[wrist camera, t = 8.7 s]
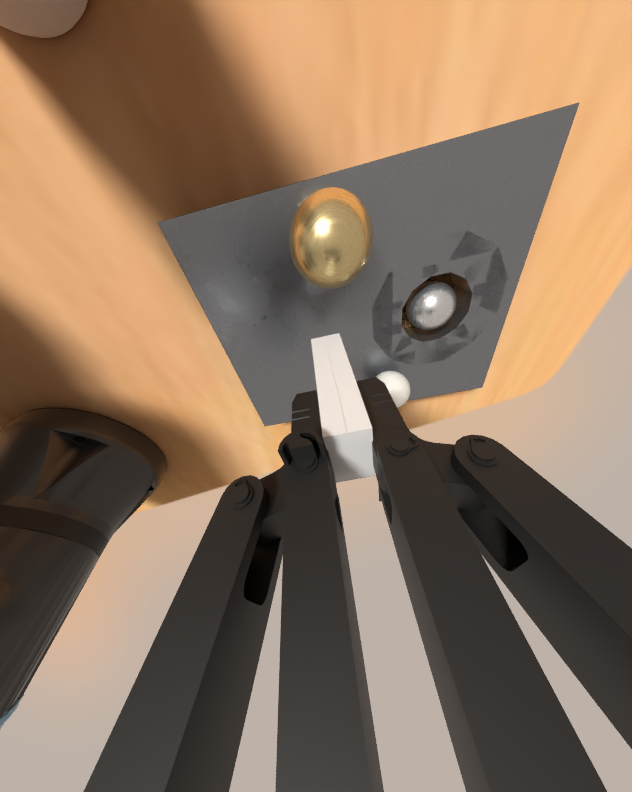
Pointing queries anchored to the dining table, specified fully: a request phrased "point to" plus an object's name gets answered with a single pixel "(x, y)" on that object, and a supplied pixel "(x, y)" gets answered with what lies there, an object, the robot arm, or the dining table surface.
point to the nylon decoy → (396, 386)
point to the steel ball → (431, 305)
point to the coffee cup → (41, 16)
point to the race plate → (378, 264)
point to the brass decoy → (331, 237)
